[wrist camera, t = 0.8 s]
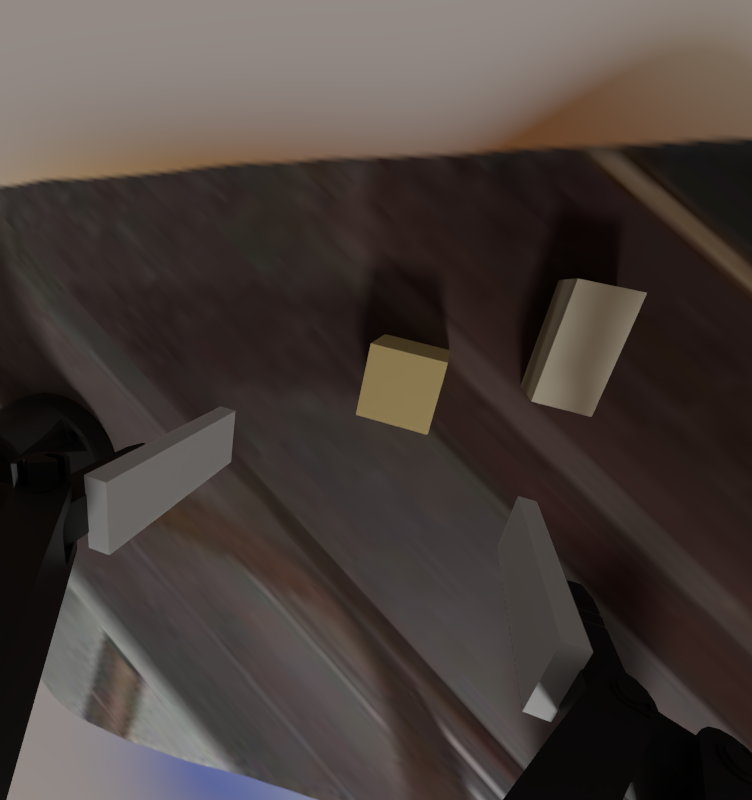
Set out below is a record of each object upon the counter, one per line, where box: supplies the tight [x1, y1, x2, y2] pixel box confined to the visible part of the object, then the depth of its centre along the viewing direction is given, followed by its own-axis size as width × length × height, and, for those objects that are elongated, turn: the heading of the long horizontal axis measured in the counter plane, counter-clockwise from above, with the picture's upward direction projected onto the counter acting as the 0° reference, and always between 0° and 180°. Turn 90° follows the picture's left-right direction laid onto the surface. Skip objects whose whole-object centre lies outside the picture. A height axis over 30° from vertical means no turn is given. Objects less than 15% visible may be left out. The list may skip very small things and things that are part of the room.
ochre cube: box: [356, 334, 450, 435], centre depth 31 cm, size 6×6×6 cm
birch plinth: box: [521, 279, 647, 417], centre depth 28 cm, size 4×9×5 cm, turn 168°
